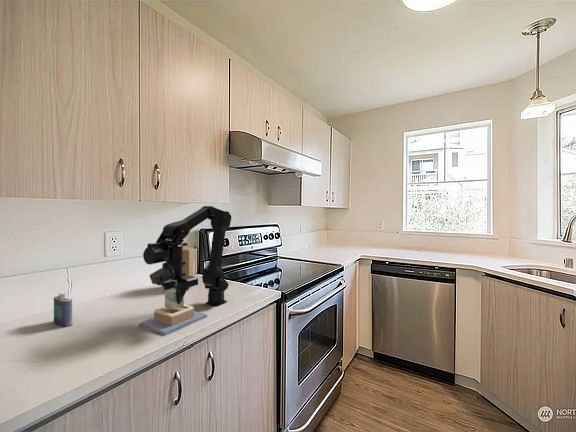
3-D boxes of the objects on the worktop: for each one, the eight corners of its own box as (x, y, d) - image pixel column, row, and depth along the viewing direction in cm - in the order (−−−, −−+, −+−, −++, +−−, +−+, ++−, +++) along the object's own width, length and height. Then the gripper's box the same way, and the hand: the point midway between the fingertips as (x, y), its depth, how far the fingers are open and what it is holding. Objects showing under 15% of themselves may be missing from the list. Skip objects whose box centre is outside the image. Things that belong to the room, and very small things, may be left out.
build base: (182, 309, 115) (181, 298, 115) (207, 316, 108) (207, 304, 107) (139, 325, 99) (138, 312, 99) (165, 335, 92) (165, 321, 92)
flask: (74, 324, 99) (73, 294, 99) (64, 328, 97) (63, 296, 96) (60, 319, 104) (59, 290, 103) (50, 322, 101) (49, 292, 101)
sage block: (175, 303, 106) (175, 287, 106) (183, 305, 104) (183, 289, 104) (164, 307, 102) (164, 290, 102) (173, 309, 100) (173, 292, 100)
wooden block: (174, 285, 149) (173, 246, 148) (193, 284, 150) (193, 246, 149) (167, 290, 139) (167, 249, 138) (189, 290, 140) (189, 249, 139)
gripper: (137, 260, 100) (137, 304, 101) (172, 266, 91) (172, 315, 92) (165, 255, 110) (165, 295, 111) (199, 260, 101) (199, 304, 101)
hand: (174, 302), depth 103 cm, fingers closed on sage block, 4 cm apart
